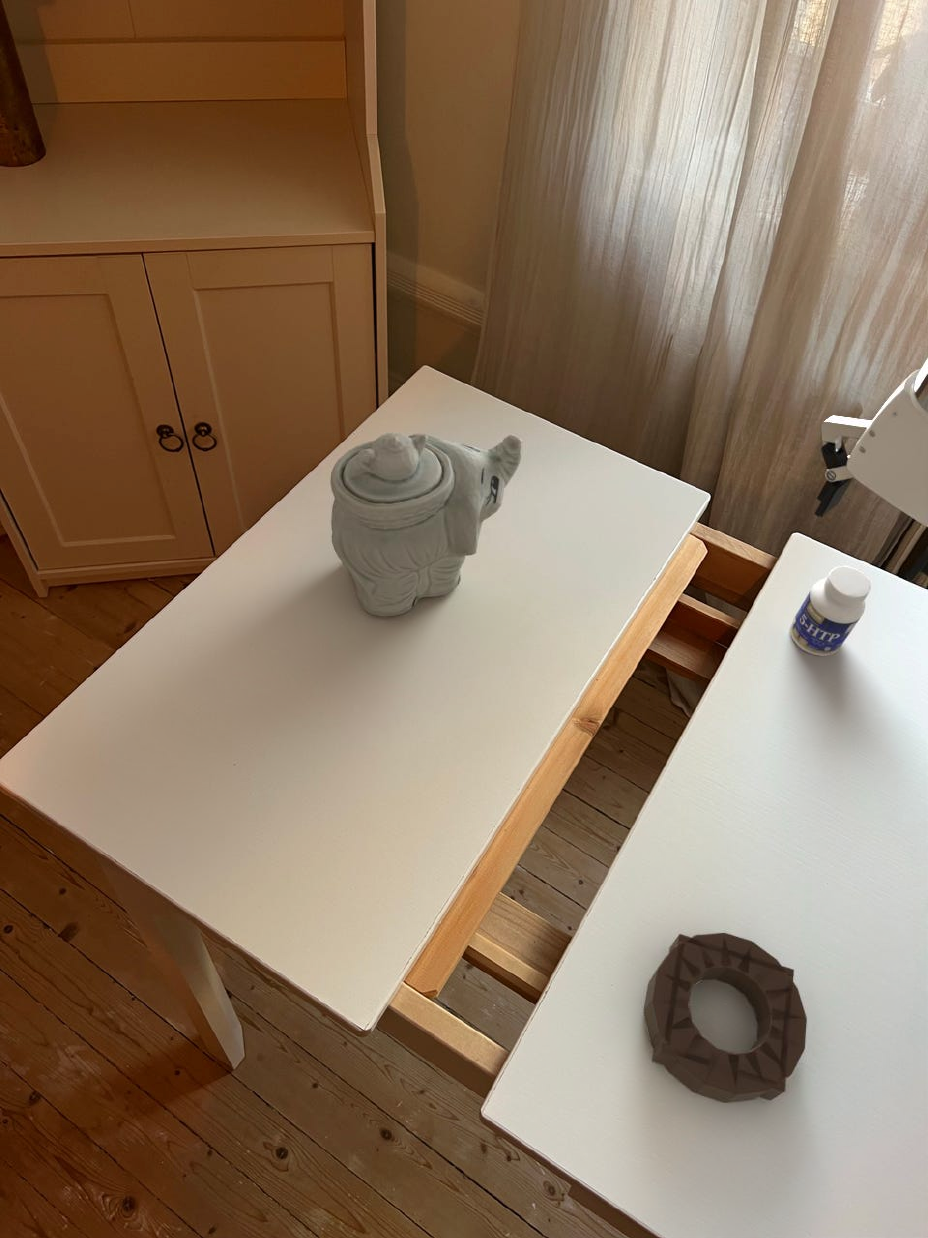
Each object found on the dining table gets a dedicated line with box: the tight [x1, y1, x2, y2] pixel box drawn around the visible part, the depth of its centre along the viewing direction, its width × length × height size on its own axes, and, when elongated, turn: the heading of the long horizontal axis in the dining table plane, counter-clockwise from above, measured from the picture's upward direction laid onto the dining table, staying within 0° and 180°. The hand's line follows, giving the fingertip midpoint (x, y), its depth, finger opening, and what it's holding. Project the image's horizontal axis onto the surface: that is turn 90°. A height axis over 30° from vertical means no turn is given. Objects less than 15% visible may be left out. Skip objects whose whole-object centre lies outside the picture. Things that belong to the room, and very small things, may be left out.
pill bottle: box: [789, 565, 872, 657], centre depth 94 cm, size 5×5×9 cm
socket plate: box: [643, 932, 808, 1104], centre depth 72 cm, size 11×11×3 cm
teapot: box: [329, 432, 523, 617], centre depth 91 cm, size 16×15×19 cm
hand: (869, 540), depth 86 cm, fingers open, 9 cm apart
